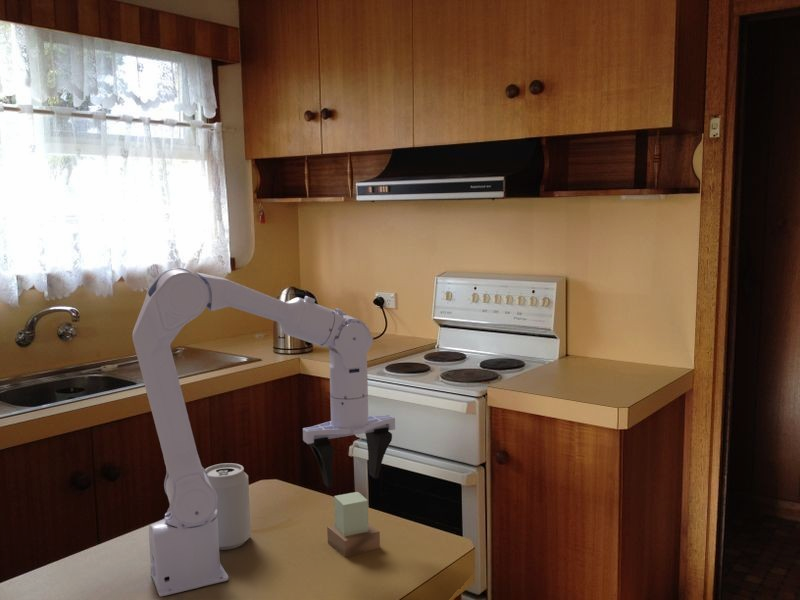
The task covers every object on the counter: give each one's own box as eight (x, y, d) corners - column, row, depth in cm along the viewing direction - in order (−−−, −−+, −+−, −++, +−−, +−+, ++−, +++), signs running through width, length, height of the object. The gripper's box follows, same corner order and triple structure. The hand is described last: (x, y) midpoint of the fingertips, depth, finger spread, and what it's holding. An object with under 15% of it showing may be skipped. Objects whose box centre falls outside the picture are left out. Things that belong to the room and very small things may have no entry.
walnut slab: (345, 559, 113) (345, 540, 112) (327, 544, 118) (327, 526, 117) (379, 549, 116) (379, 531, 115) (361, 535, 121) (360, 517, 120)
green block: (344, 536, 114) (343, 505, 113) (334, 526, 117) (334, 496, 117) (368, 531, 115) (367, 500, 115) (358, 521, 119) (358, 491, 118)
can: (254, 530, 122) (251, 459, 121) (246, 551, 115) (243, 476, 114) (208, 532, 122) (204, 461, 121) (197, 553, 115) (193, 477, 113)
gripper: (313, 407, 107) (316, 498, 109) (403, 394, 113) (404, 480, 115) (296, 396, 113) (299, 482, 115) (383, 384, 120) (384, 466, 121)
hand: (351, 480), depth 115 cm, fingers open, 7 cm apart
